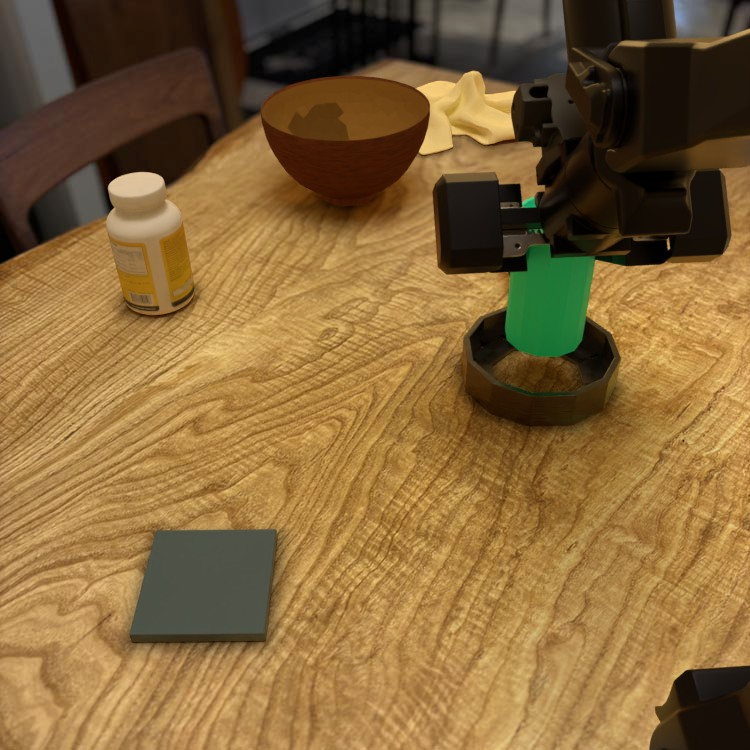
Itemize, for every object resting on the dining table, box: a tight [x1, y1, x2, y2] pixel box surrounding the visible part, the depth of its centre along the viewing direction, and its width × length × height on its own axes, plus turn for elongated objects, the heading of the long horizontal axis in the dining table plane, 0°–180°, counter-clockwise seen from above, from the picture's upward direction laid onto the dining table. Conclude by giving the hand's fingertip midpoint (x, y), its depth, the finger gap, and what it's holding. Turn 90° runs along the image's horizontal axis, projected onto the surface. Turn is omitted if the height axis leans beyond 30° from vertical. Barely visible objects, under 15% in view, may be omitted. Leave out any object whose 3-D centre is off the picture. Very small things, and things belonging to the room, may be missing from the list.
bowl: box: [260, 75, 430, 207], centre depth 92 cm, size 18×18×10 cm
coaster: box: [128, 528, 278, 643], centre depth 53 cm, size 8×8×1 cm
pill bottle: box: [105, 171, 196, 316], centre depth 75 cm, size 6×6×12 cm
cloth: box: [414, 70, 517, 156], centre depth 108 cm, size 22×19×6 cm
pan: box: [461, 272, 622, 427], centre depth 75 cm, size 28×12×3 cm, turn 1°
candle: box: [505, 195, 596, 358], centre depth 63 cm, size 6×6×12 cm
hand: (548, 251), depth 64 cm, fingers closed on candle, 5 cm apart
